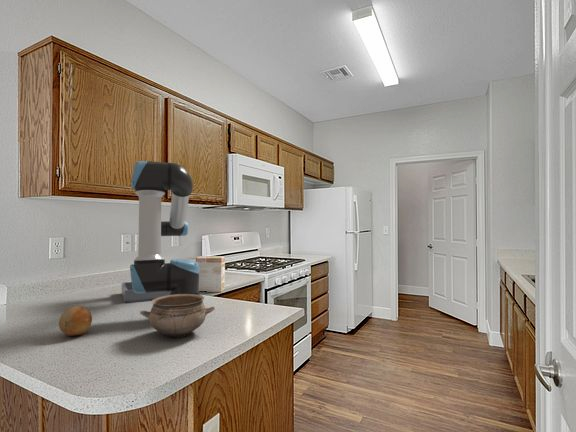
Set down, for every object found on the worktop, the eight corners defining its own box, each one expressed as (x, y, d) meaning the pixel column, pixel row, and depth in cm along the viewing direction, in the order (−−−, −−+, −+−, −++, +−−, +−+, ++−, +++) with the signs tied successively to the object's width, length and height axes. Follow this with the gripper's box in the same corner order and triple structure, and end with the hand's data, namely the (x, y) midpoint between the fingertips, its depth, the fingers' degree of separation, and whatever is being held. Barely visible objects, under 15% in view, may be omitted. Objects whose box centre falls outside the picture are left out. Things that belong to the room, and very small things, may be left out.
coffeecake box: (224, 289, 196) (225, 256, 196) (221, 292, 189) (221, 257, 189) (199, 289, 197) (200, 255, 198) (195, 291, 190) (195, 257, 191)
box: (125, 303, 163) (125, 290, 163) (121, 293, 184) (121, 282, 184) (177, 297, 175) (177, 286, 175) (168, 289, 196) (168, 279, 196)
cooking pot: (214, 323, 131) (214, 292, 131) (215, 340, 113) (215, 303, 113) (144, 328, 125) (145, 295, 125) (134, 346, 107) (134, 307, 107)
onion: (53, 341, 111) (54, 310, 111) (64, 332, 121) (65, 303, 121) (86, 339, 114) (87, 309, 114) (95, 329, 123) (95, 302, 123)
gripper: (171, 246, 182) (170, 289, 181) (135, 245, 186) (135, 287, 185) (163, 247, 174) (163, 291, 174) (126, 246, 178) (126, 290, 178)
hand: (148, 289), depth 180 cm, fingers closed on mug, 8 cm apart
